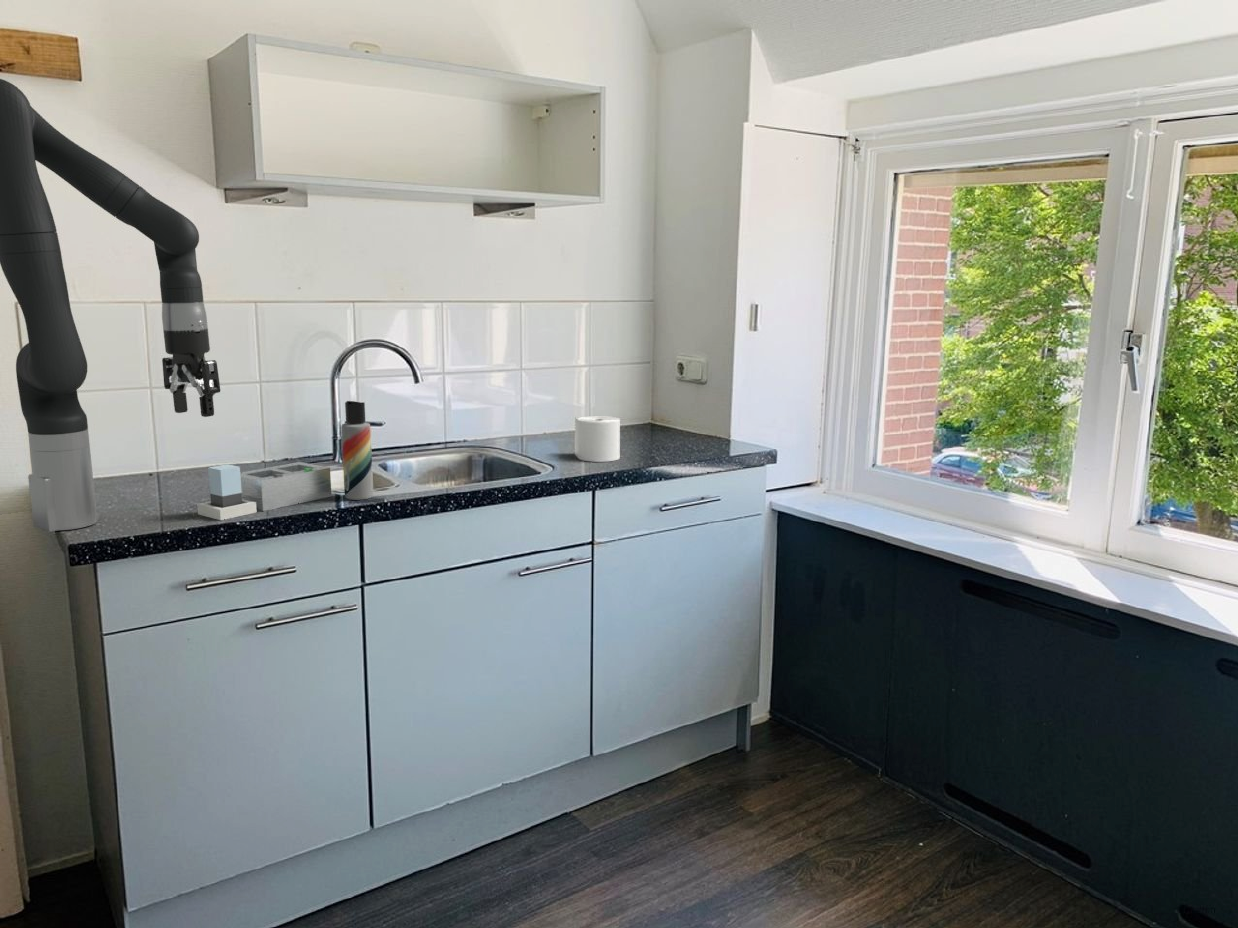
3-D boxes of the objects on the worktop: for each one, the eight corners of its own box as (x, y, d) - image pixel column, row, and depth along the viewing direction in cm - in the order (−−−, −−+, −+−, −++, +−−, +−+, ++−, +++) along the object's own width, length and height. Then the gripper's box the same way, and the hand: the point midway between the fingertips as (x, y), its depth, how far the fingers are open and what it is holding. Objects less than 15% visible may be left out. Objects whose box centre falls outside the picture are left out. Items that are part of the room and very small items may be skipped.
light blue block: (223, 517, 178) (220, 470, 176) (211, 513, 180) (208, 467, 178) (243, 513, 181) (239, 466, 179) (230, 509, 183) (227, 464, 181)
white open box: (220, 520, 175) (219, 509, 175) (197, 514, 179) (197, 504, 179) (256, 512, 181) (255, 502, 181) (233, 506, 185) (233, 496, 185)
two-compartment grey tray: (263, 511, 182) (261, 478, 181) (232, 503, 188) (230, 472, 186) (331, 496, 195) (329, 465, 194) (301, 489, 201) (299, 460, 199)
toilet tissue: (617, 463, 232) (617, 422, 231) (568, 461, 234) (568, 421, 232) (622, 455, 243) (622, 416, 241) (576, 453, 244) (576, 415, 242)
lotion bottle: (338, 497, 194) (333, 400, 190) (359, 492, 198) (355, 397, 194) (358, 501, 191) (354, 402, 187) (379, 496, 195) (375, 400, 192)
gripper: (144, 327, 175) (154, 414, 179) (189, 330, 168) (198, 420, 171) (182, 325, 182) (191, 408, 185) (226, 327, 174) (235, 414, 177)
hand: (194, 414), depth 178 cm, fingers open, 8 cm apart
